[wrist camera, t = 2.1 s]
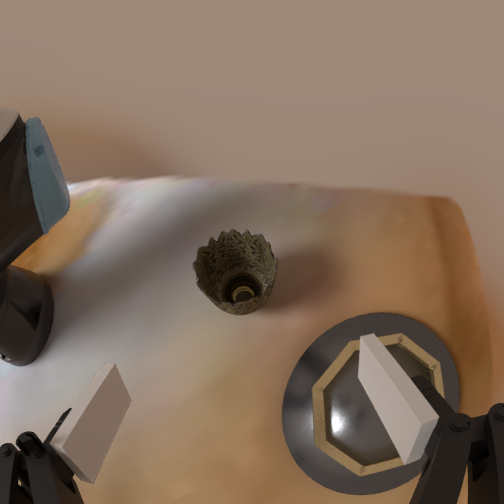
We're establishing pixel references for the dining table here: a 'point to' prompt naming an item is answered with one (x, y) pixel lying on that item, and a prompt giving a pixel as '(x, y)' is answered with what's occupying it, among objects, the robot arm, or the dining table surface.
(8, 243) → the robot arm
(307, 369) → the carrier plate
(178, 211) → the dining table surface
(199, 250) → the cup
